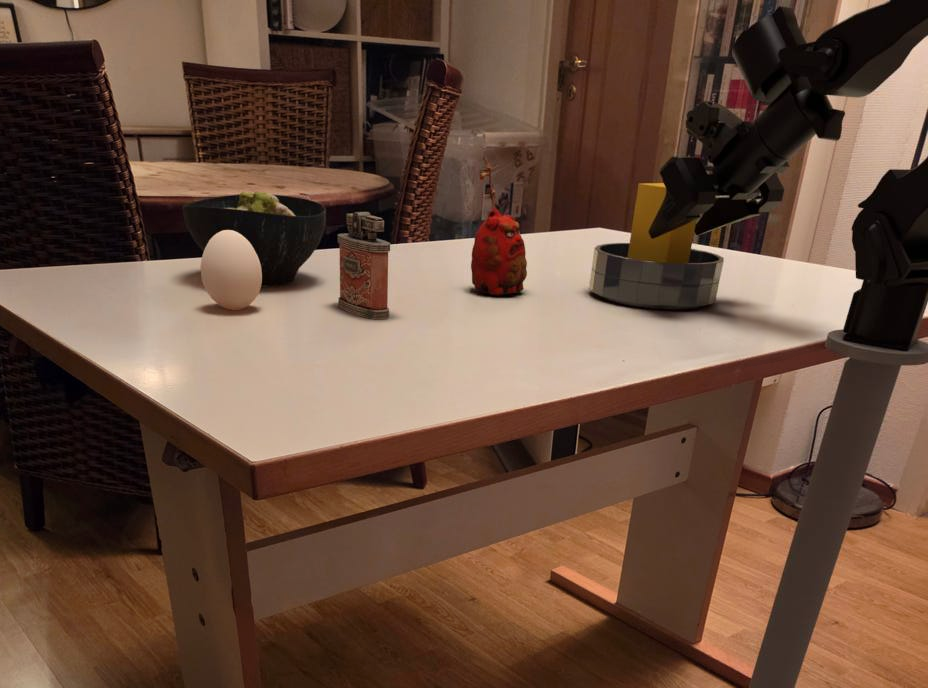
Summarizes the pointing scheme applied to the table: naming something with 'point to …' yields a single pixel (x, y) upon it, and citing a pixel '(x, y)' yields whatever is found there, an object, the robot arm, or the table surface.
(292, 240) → the bowl
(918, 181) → the robot arm
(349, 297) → the lighter
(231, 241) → the egg
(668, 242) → the sponge
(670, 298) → the slate bowl
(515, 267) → the red clay folk toy
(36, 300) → the table surface
